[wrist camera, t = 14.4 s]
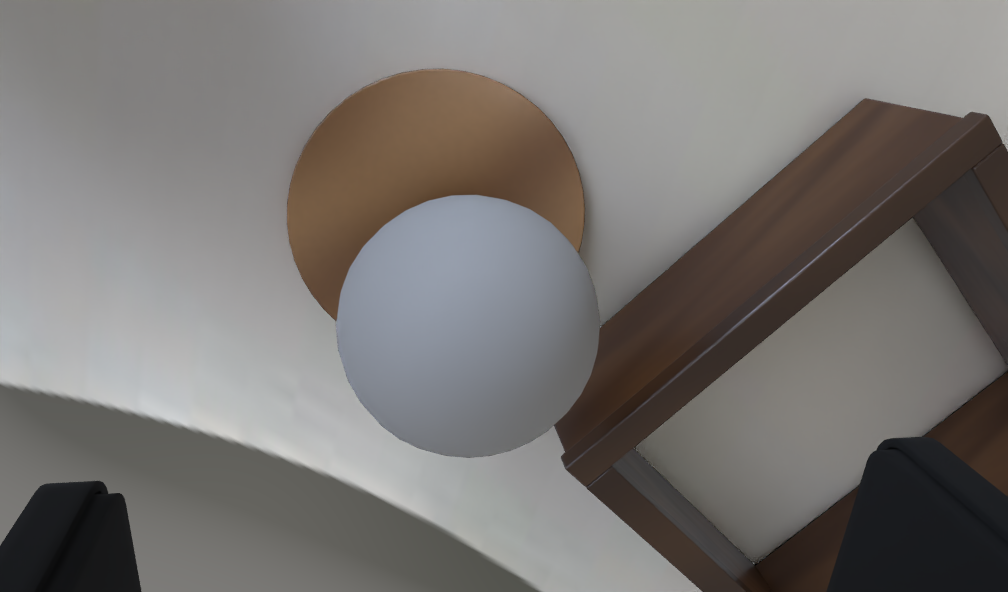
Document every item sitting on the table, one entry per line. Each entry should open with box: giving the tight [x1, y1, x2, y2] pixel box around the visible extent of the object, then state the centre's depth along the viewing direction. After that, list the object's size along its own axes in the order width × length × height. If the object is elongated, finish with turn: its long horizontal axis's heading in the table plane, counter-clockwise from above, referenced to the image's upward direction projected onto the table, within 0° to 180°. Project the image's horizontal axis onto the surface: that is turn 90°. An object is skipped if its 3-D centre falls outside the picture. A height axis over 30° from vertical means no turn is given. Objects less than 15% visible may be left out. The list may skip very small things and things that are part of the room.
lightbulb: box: [336, 195, 600, 458], centre depth 19 cm, size 6×6×11 cm
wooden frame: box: [554, 99, 1008, 592], centre depth 27 cm, size 16×16×6 cm
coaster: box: [287, 69, 585, 322], centre depth 24 cm, size 10×10×1 cm
